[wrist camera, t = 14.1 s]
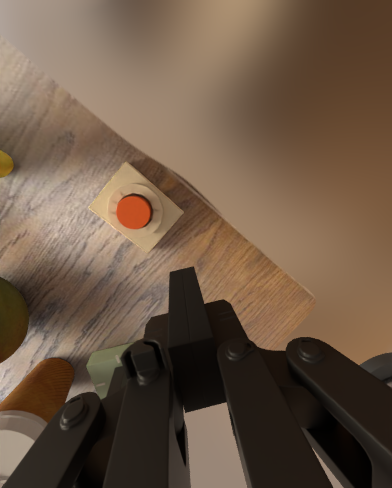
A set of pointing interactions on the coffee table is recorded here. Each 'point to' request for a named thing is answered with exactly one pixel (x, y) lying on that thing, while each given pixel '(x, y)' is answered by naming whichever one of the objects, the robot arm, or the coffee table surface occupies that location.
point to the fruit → (11, 319)
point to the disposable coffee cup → (31, 410)
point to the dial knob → (117, 380)
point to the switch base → (138, 185)
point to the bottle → (5, 164)
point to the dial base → (104, 367)
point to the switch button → (133, 212)
